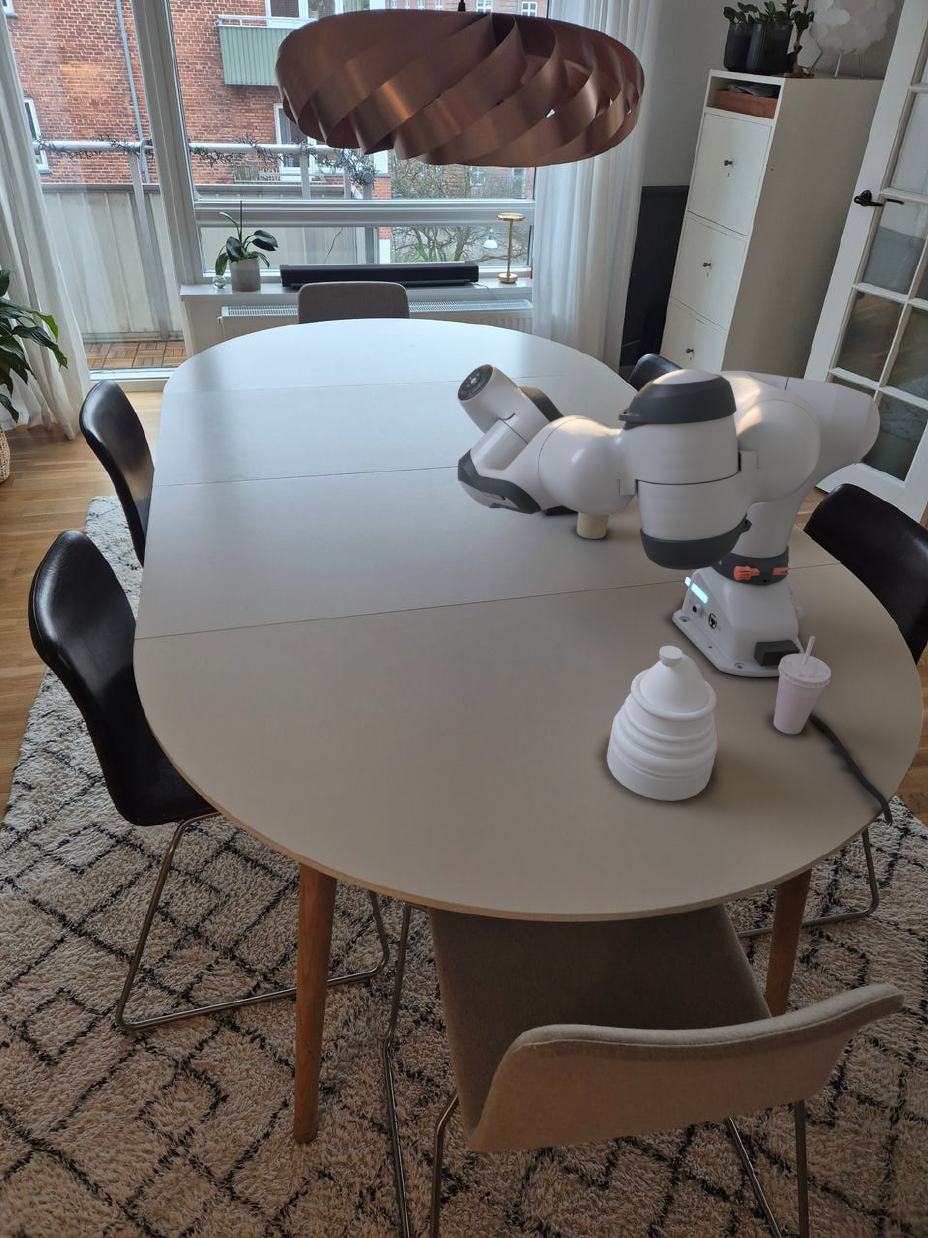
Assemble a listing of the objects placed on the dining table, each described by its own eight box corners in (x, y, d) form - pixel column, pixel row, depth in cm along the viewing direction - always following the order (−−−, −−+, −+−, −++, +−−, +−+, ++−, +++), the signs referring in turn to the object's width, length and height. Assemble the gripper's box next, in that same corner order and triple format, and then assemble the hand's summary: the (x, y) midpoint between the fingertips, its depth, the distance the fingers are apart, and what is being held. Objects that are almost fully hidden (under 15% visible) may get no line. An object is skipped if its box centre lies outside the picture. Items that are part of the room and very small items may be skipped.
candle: (570, 528, 163) (576, 479, 158) (595, 523, 165) (602, 475, 160) (586, 541, 159) (592, 491, 154) (611, 536, 161) (618, 487, 156)
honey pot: (660, 816, 102) (687, 694, 92) (585, 754, 110) (603, 637, 100) (731, 773, 108) (764, 656, 98) (656, 718, 117) (678, 605, 107)
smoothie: (802, 710, 119) (829, 625, 112) (820, 741, 114) (849, 654, 106) (756, 710, 119) (780, 625, 111) (772, 741, 114) (798, 654, 106)
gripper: (479, 432, 150) (521, 474, 160) (552, 475, 136) (593, 518, 146) (502, 403, 150) (542, 447, 159) (577, 443, 135) (616, 488, 145)
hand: (567, 481), depth 152 cm, fingers open, 8 cm apart
